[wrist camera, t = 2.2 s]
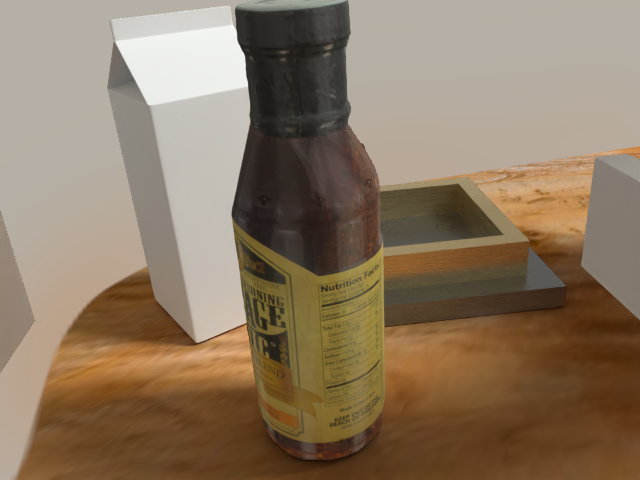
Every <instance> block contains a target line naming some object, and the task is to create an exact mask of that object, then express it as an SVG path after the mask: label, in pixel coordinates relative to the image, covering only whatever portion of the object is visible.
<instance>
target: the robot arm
mask: <svg viewBox="0 0 640 480" xmlns="http://www.w3.org/2000/svg"><path fill="white" fill-rule="evenodd" d="M581 266H582V267H583V268H584V269H585V270H586V271H587V272H588V273H589V274H590V275H591V276H592V277H594V278H595V279H596V280H597V281H598V282H599V283H600V284H601V285H602V286H603V287H604V288H605V289H606V290H608V291H609V292H610V293H611V294H612V295H613V296H614V297H615V298H616V299H617V300H618V301H619V302H621V303H622V304H623V305H624V306H625V307H626V308H627V309H628V310H629V311H630V312H631V313H632V314H634V315H635V316H636V317H637V318H638V319H639V320H640V160H639V159H637V158H635V157H633V156H631V155H629V154H624V155H613V156H602V157H595V163H594V171H593V178H592V186H591V193H590V201H589V208H588V216H587V223H586V231H585V238H584V246H583V254H582V261H581ZM34 321H35V320H34V316H33V313H32V310H31V307H30V304H29V301H28V298H27V295H26V291H25V288H24V284H23V281H22V278H21V275H20V272H19V269H18V265H17V262H16V259H15V256H14V253H13V249H12V246H11V243H10V240H9V236H8V233H7V230H6V227H5V224H4V220H3V218H2V214H1V211H0V373H1V371H2V370H3V368H4V367H5V365H6V364H7V362H8V360H9V359H10V357H11V356H12V354H13V353H14V351H15V350H16V348H17V347H18V345H19V344H20V342H21V341H22V339H23V337H24V336H25V335H26V333H27V332H28V330H29V329H30V327H31V326H32V324H33V322H34Z"/></svg>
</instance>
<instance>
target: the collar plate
mask: <svg viewBox="0 0 640 480" xmlns="http://www.w3.org/2000/svg"><path fill="white" fill-rule="evenodd" d="M380 231H381V233H382V236H383V265H384V327H386V326H395V325H404V324H413V323H422V322H431V321H440V320H449V319H458V318H467V317H476V316H485V315H494V314H503V313H512V312H521V311H530V310H539V309H548V308H557V307H564V303H565V295H566V285H565V284H564V283H563V282H562V281H561V280H560V279H559V278H558V277H557V276H556V274H555V273H554V272H553V271H552V270H551V269H550V268H549V267H548V266H547V265H546V264H545V263H544V262H543V261H542V260H541V258H540V257H539V256H538V255H537V254H536V253H535V252H534V251H533V250H532V249H531V248H530V247H529V243H530V241H529V240H528V239H527V238H526V237H525V236H524V234H523V233H522V232H521V231H520V230H519V229H518V228H517V227H516V226H515V225H514V224H513V223H512V222H511V221H510V220H509V219H508V218H507V217H506V216H505V215H504V214H503V213H502V212H501V211H500V209H499V208H498V207H497V206H496V205H495V204H494V203H493V202H492V201H491V200H490V199H489V198H488V197H487V196H486V195H485V194H484V193H483V192H482V191H481V190H480V189H479V188H478V187H477V186H476V184H475V183H474V182H473V181H472V180H471V179H470V178H469V177H467V178H457V179H447V180H437V181H427V182H417V183H407V184H397V185H388V186H380Z"/></svg>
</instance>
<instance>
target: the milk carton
mask: <svg viewBox="0 0 640 480" xmlns="http://www.w3.org/2000/svg"><path fill="white" fill-rule="evenodd" d="M110 25H111V30H112V35H113V39H114V43H113V51H112V58H111V65H110V72H109V79H108V87H107V88H108V92H109V97H110V102H111V106H112V111H113V115H114V120H115V124H116V128H117V133H118V137H119V142H120V146H121V150H122V155H123V160H124V164H125V168H126V173H127V177H128V182H129V186H130V191H131V195H132V200H133V204H134V208H135V213H136V217H137V222H138V226H139V230H140V235H141V239H142V244H143V248H144V253H145V257H146V261H147V266H148V270H149V275H150V279H151V284H152V288H153V293H154V297H155V300H156V301H157V302H158V303H159V304H160V305H161V306H162V307H163V308H164V309H165V310H166V311H167V312H168V313H169V315H170V316H171V317H172V318H173V319H174V320H175V321H176V322H177V323H178V324H179V325H180V326H181V327H182V328H183V329H184V331H185V332H186V333H187V334H188V335H189V336H190V337H191V338H192V339H193V340H194V341H195V342H196V343H199V342H202V341H205V340H207V339H209V338H212V337H214V336H217V335H219V334H221V333H224V332H226V331H228V330H231V329H233V328H235V327H238V326H240V325H243V324H245V323H247V322H246V313H245V309H244V300H243V296H242V288H241V280H240V271H239V264H238V257H237V251H236V244H235V238H234V229H233V223H232V216H231V213H232V207H233V202H234V198H235V193H236V188H237V183H238V178H239V173H240V169H241V164H242V159H243V154H244V150H245V145H246V140H247V135H248V131H249V126H250V117H249V114H250V99H249V91H248V81H247V78H246V63H245V55H244V53H243V51H242V50H241V48H240V45H239V43H238V41H237V31H236V30H235V28H234V26H233V24H232V16H231V9H230V6H223V7H214V8H206V9H197V10H189V11H181V12H172V13H164V14H156V15H147V16H138V17H130V18H122V19H114V20H110Z"/></svg>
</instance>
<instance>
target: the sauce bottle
mask: <svg viewBox="0 0 640 480" xmlns="http://www.w3.org/2000/svg"><path fill="white" fill-rule="evenodd" d="M235 15H236V28H237V41H238V43H239V45H240V48H241V50H242V51H243V53H244V55H245V63H246V78H247V81H248V91H249V99H250V114H249V117H250V126H249V131H248V135H247V140H246V145H245V150H244V154H243V159H242V164H241V169H240V173H239V178H238V183H237V188H236V193H235V198H234V202H233V207H232V213H231V216H232V223H233V229H234V238H235V244H236V251H237V257H238V264H239V271H240V280H241V288H242V296H243V300H244V309H245V313H246V322H247V331H248V335H249V342H250V348H251V355H252V362H253V369H254V376H255V382H256V389H257V396H258V403H259V408H260V411H261V414H262V416H263V421H264V423H265V428H266V430H267V432H268V434H269V435H270V436H271V438H272V439H273V440H274V442H275V443H277V445H278V446H279V447H280V448H282V449H284V450H285V451H286V452H287V453H288V454H290V455H291V456H293V457H295V458H299V459H303V460H312V459H314V460H334V459H338V458H342V457H346V456H349V455H351V454H353V453H356V452H357V451H358V450H360V449H361V448H362V447H364V446H366V445H368V443H369V442H370V441H371V440H372V439H374V438H375V437H376V435H377V434H378V432H379V429H380V427H381V420H382V409H383V405H384V401H385V349H384V265H383V236H382V233H381V231H380V185H379V179H378V175H377V173H376V170H375V167H374V165H373V163H372V161H371V159H370V157H369V156H368V154H367V152H366V150H365V147H364V145H363V144H362V143H360V141H359V140H358V139H357V137H356V135H355V134H354V133H353V131H352V129H351V128H350V126H349V125H348V118H349V115H350V113H351V106H350V103H349V101H348V100H347V77H346V53H345V51H346V47H347V43H348V40H349V35H350V33H351V32H350V20H349V4H348V0H255V1H251V2H246V3H244V4H240V5H238V6H237V7H236V9H235Z"/></svg>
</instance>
